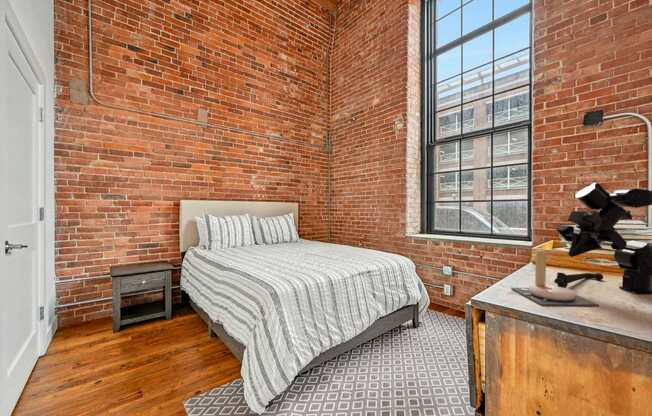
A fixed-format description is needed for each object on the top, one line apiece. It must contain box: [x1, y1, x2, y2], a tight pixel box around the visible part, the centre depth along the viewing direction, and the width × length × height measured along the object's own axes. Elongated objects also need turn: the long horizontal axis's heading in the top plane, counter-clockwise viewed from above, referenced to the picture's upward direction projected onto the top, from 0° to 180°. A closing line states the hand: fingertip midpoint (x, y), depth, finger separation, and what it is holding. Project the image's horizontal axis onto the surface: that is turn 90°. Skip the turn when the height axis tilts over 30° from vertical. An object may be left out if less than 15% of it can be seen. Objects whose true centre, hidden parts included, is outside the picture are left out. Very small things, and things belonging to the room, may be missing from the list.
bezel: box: [510, 287, 600, 307], centre depth 89 cm, size 15×15×1 cm
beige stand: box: [528, 249, 576, 301], centre depth 89 cm, size 11×11×12 cm
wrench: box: [553, 272, 604, 288], centre depth 100 cm, size 5×5×30 cm
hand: (570, 255), depth 94 cm, fingers closed
